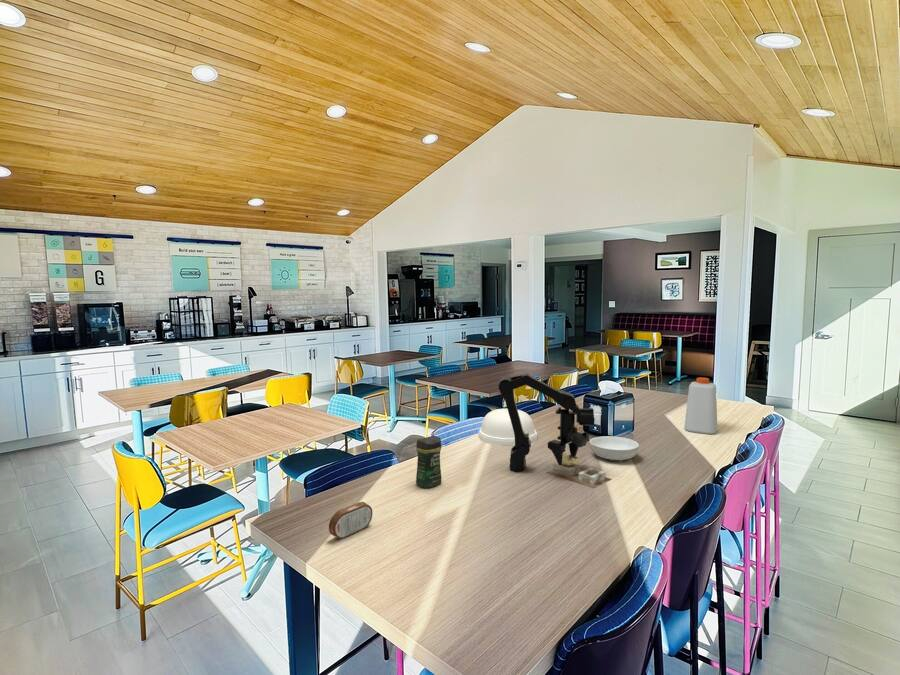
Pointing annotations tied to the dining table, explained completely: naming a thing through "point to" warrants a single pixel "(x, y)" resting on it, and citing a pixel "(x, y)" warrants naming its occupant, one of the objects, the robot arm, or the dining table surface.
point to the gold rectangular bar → (569, 460)
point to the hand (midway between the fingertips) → (566, 462)
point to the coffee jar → (428, 462)
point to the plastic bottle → (701, 407)
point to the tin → (350, 520)
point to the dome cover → (504, 428)
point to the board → (580, 475)
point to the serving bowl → (614, 447)
